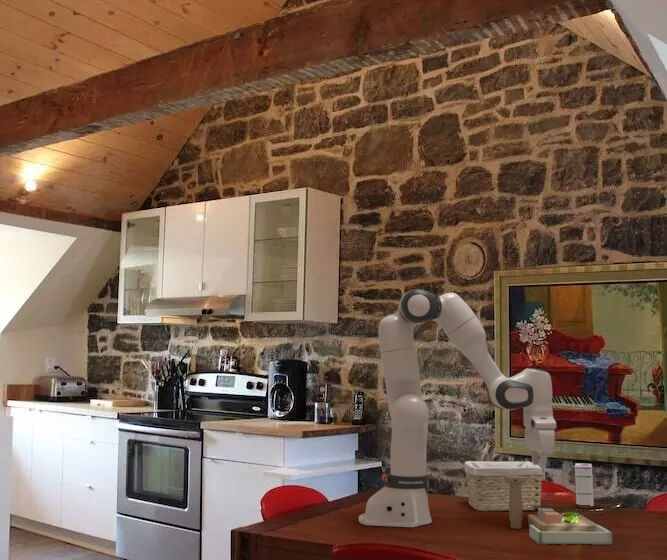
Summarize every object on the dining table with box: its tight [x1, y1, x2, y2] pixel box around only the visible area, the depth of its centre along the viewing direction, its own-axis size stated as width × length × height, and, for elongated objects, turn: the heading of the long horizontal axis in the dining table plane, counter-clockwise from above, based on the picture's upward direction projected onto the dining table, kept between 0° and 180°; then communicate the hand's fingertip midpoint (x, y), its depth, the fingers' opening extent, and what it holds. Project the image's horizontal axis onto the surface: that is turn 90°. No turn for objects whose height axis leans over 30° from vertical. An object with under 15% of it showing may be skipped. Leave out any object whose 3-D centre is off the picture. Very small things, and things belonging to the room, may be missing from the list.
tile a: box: [543, 511, 562, 523], centre depth 231 cm, size 4×4×2 cm
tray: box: [528, 524, 613, 546], centre depth 220 cm, size 20×10×3 cm, turn 91°
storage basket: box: [464, 460, 544, 512], centre depth 270 cm, size 24×16×15 cm
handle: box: [504, 475, 526, 530], centre depth 237 cm, size 5×6×15 cm
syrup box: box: [574, 462, 595, 507], centre depth 271 cm, size 6×6×14 cm
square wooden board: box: [527, 514, 598, 532], centre depth 234 cm, size 16×16×3 cm
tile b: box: [537, 507, 556, 520], centre depth 236 cm, size 4×4×2 cm
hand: (539, 466), depth 245 cm, fingers open, 6 cm apart
